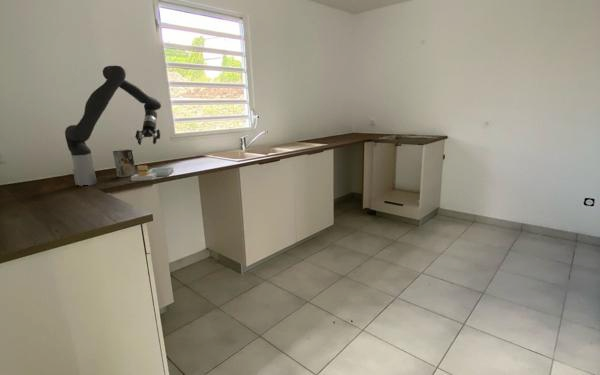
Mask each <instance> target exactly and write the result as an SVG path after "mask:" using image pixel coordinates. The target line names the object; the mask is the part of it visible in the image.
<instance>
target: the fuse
mask: <svg viewBox="0 0 600 375" xmlns="http://www.w3.org/2000/svg"><path fill="white" fill-rule="evenodd" d="M136 169H137V172H138V173H137V174H139V176H142V175H148V171H149V169H148V165H137V168H136Z"/></svg>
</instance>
